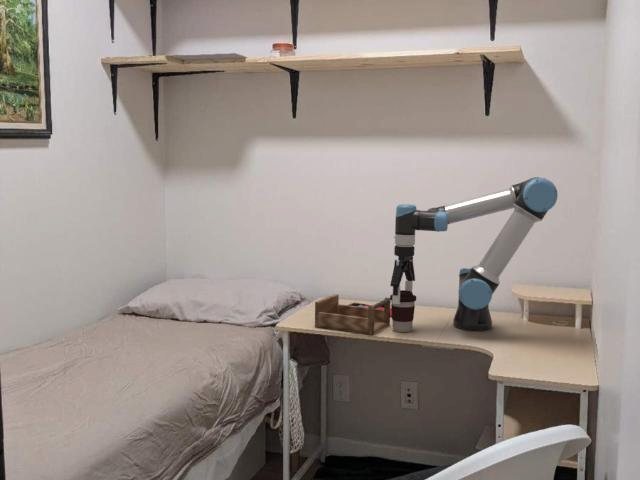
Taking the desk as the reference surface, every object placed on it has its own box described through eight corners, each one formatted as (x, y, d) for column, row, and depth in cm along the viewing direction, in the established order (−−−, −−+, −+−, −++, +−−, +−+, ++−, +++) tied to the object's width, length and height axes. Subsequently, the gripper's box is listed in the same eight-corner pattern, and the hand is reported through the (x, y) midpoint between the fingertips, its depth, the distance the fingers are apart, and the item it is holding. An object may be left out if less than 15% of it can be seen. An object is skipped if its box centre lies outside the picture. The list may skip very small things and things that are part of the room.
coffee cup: (414, 327, 271) (416, 289, 269) (415, 334, 261) (416, 294, 260) (389, 326, 272) (390, 288, 270) (389, 333, 262) (390, 293, 260)
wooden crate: (389, 325, 274) (390, 297, 273) (372, 335, 258) (372, 306, 257) (334, 318, 285) (335, 291, 284) (314, 327, 269) (315, 299, 268)
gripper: (406, 241, 275) (404, 294, 278) (383, 248, 253) (380, 305, 256) (424, 242, 272) (422, 296, 275) (402, 249, 250) (400, 307, 253)
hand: (402, 300), depth 265 cm, fingers open, 13 cm apart
